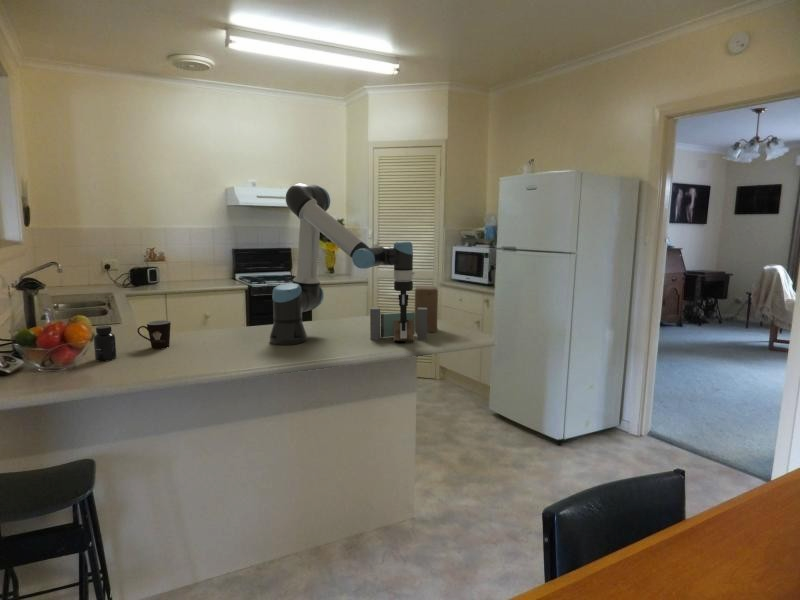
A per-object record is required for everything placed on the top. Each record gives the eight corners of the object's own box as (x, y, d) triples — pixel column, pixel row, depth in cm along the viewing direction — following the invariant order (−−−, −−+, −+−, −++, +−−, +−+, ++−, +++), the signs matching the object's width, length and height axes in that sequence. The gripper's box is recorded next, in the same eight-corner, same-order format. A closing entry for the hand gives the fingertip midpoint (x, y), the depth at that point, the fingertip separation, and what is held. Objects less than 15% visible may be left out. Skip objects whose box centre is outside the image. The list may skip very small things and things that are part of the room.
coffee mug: (177, 345, 207) (175, 321, 205) (162, 350, 199) (160, 325, 197) (153, 343, 210) (151, 319, 208) (137, 348, 202) (135, 323, 200)
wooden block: (437, 333, 229) (437, 288, 226) (414, 333, 229) (415, 288, 226) (436, 328, 239) (436, 285, 236) (414, 328, 239) (414, 285, 236)
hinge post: (370, 339, 218) (370, 309, 215) (371, 336, 222) (370, 307, 219) (379, 339, 217) (379, 309, 215) (380, 337, 221) (380, 307, 219)
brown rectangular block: (393, 339, 209) (393, 320, 211) (394, 341, 214) (394, 322, 216) (413, 339, 209) (413, 320, 211) (413, 341, 214) (413, 322, 216)
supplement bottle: (93, 362, 182) (89, 329, 180) (98, 357, 189) (95, 325, 187) (114, 360, 184) (111, 328, 182) (119, 356, 191) (116, 324, 189)
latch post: (417, 339, 217) (417, 309, 215) (417, 337, 221) (417, 307, 219) (426, 339, 217) (427, 309, 215) (426, 337, 221) (426, 307, 219)
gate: (381, 337, 218) (381, 314, 217) (380, 336, 220) (380, 313, 218) (414, 334, 223) (414, 312, 222) (413, 334, 225) (413, 311, 223)
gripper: (412, 282, 198) (412, 341, 202) (412, 278, 211) (412, 334, 215) (393, 282, 199) (393, 341, 202) (394, 278, 211) (394, 334, 215)
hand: (403, 337), depth 209 cm, fingers closed
